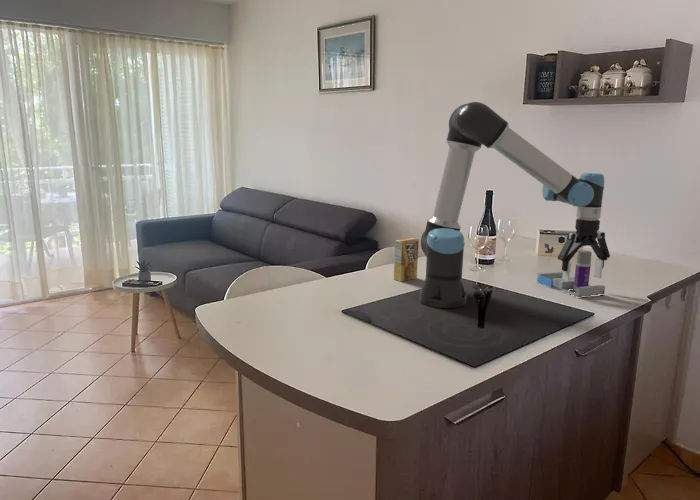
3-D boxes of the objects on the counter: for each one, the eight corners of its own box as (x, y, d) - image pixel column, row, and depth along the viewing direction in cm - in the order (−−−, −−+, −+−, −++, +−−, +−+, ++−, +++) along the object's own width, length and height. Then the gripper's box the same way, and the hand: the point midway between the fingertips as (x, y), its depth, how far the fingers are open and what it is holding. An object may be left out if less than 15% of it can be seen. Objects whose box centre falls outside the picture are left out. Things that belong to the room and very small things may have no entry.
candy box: (409, 276, 208) (411, 237, 205) (417, 278, 205) (419, 239, 202) (393, 279, 202) (394, 240, 199) (401, 282, 199) (402, 241, 196)
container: (585, 295, 185) (590, 253, 182) (571, 293, 187) (575, 251, 184) (588, 293, 188) (593, 251, 185) (575, 290, 191) (579, 249, 188)
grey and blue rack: (576, 298, 181) (577, 288, 181) (535, 282, 202) (536, 273, 201) (604, 295, 185) (605, 286, 184) (561, 280, 205) (561, 271, 205)
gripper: (565, 221, 175) (559, 283, 179) (625, 219, 183) (618, 279, 187) (550, 218, 182) (544, 278, 186) (608, 216, 190) (602, 273, 194)
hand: (581, 278), depth 187 cm, fingers open, 13 cm apart
